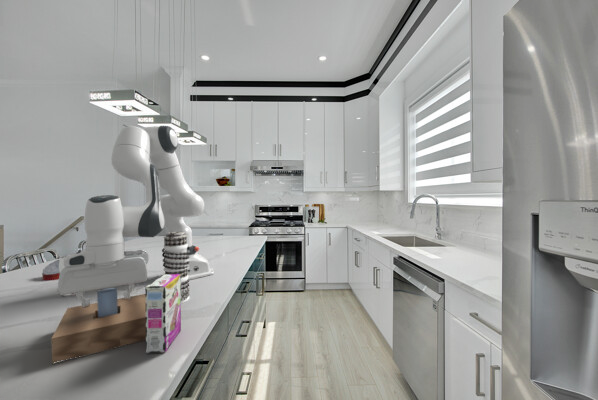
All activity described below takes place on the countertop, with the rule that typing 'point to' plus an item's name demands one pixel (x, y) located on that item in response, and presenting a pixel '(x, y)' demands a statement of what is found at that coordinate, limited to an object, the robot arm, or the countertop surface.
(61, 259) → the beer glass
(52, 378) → the countertop surface
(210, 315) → the countertop surface
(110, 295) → the peg
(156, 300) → the candy bar box
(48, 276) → the red base snow globe
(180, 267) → the decorative candle
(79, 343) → the socket block
